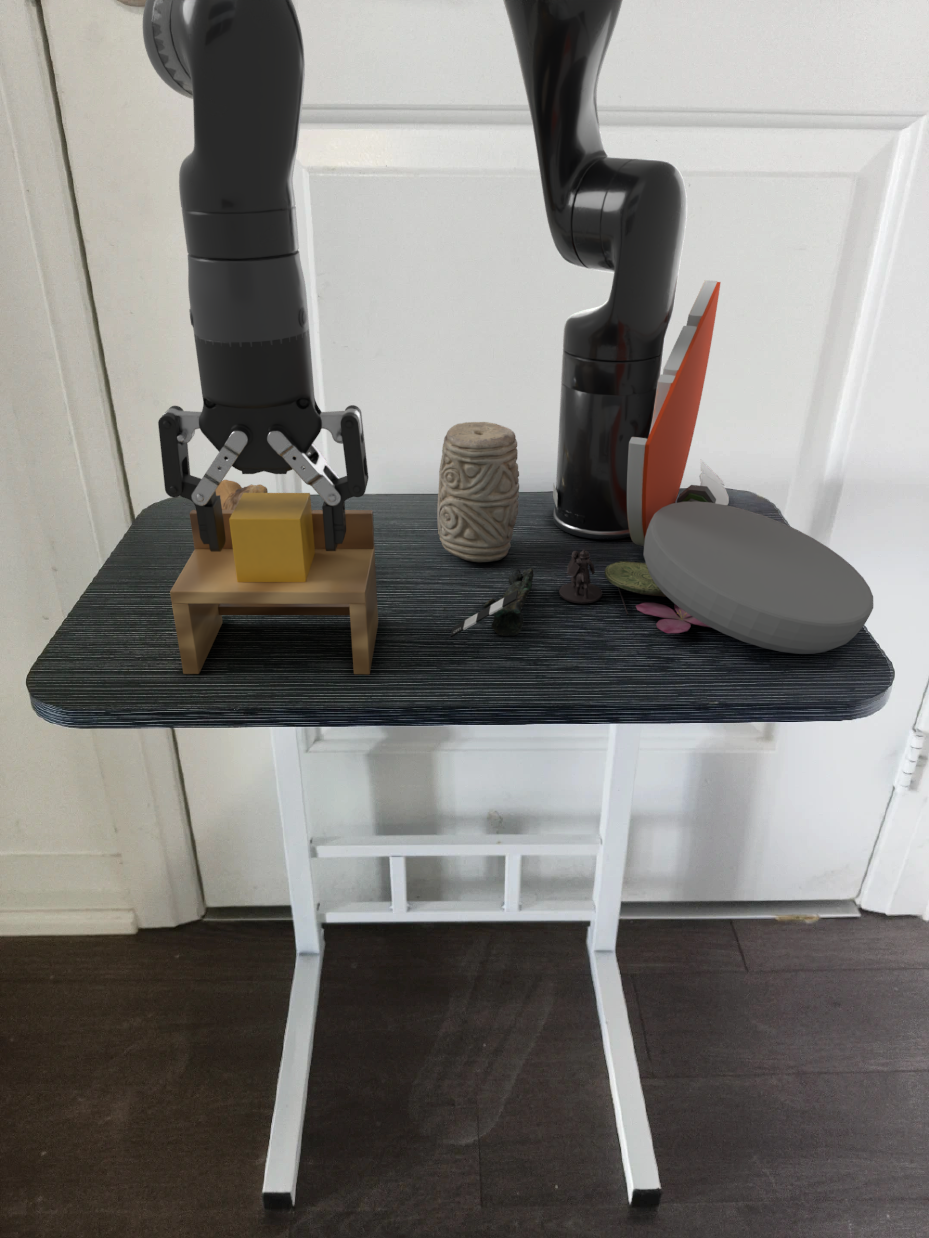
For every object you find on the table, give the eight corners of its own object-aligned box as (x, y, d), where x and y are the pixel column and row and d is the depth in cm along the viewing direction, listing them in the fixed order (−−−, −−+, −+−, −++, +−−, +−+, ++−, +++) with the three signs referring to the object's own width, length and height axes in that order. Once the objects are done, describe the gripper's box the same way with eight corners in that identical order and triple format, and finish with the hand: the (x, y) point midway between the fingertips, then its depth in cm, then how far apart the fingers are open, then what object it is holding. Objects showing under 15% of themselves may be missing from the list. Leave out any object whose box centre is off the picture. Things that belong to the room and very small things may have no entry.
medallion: (634, 599, 79) (635, 590, 78) (587, 566, 85) (589, 558, 85) (714, 597, 82) (716, 589, 82) (663, 566, 89) (664, 558, 88)
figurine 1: (450, 636, 75) (470, 559, 85) (481, 672, 76) (498, 592, 86) (515, 598, 72) (529, 524, 82) (546, 636, 74) (556, 558, 84)
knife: (725, 495, 108) (686, 472, 108) (746, 464, 106) (706, 441, 106) (698, 576, 89) (651, 549, 90) (723, 541, 87) (674, 513, 87)
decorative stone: (629, 483, 83) (610, 533, 86) (685, 598, 68) (660, 655, 70) (821, 524, 87) (798, 571, 89) (916, 641, 71) (884, 694, 74)
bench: (183, 674, 72) (163, 553, 68) (208, 622, 79) (191, 509, 75) (369, 674, 72) (363, 553, 68) (378, 622, 79) (372, 509, 75)
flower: (650, 596, 84) (651, 586, 84) (742, 615, 81) (744, 604, 80) (618, 629, 78) (618, 619, 78) (716, 651, 74) (717, 640, 74)
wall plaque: (705, 277, 94) (628, 442, 74) (721, 279, 94) (648, 445, 74) (684, 439, 107) (615, 616, 87) (699, 441, 107) (632, 620, 87)
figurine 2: (614, 572, 87) (618, 531, 85) (629, 615, 80) (633, 571, 78) (554, 572, 87) (556, 531, 85) (563, 615, 80) (566, 571, 78)
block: (237, 582, 70) (228, 518, 68) (250, 553, 75) (243, 492, 72) (305, 582, 70) (299, 519, 68) (315, 553, 75) (310, 492, 72)
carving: (525, 564, 89) (529, 438, 83) (445, 571, 87) (443, 444, 81) (508, 536, 94) (511, 416, 88) (432, 543, 93) (430, 421, 87)
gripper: (364, 312, 67) (375, 527, 75) (159, 312, 67) (191, 527, 75) (353, 337, 61) (366, 570, 68) (126, 337, 61) (165, 569, 68)
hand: (275, 547), depth 72 cm, fingers open, 8 cm apart
